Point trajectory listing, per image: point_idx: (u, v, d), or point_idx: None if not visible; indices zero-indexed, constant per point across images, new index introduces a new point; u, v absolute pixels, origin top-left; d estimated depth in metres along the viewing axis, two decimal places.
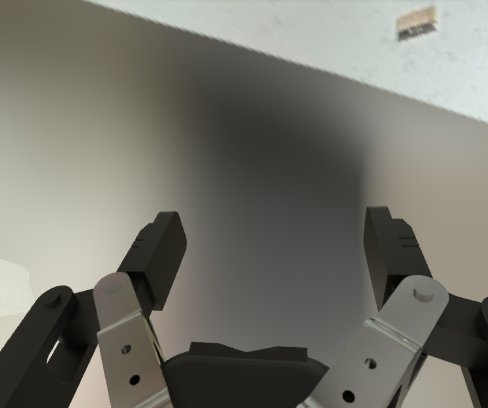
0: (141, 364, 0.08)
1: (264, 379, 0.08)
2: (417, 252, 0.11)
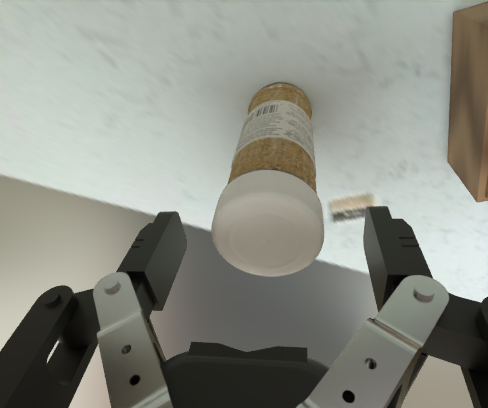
0: (141, 364, 0.08)
1: (264, 379, 0.08)
2: (417, 252, 0.11)
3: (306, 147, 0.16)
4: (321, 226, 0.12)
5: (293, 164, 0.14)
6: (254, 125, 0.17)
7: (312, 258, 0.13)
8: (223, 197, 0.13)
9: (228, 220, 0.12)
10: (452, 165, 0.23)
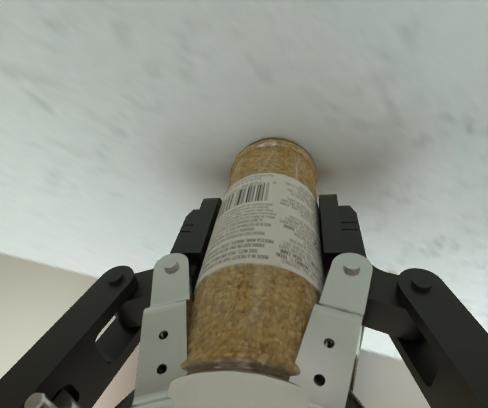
0: (171, 355, 0.08)
1: None
2: (357, 234, 0.12)
3: (312, 274, 0.10)
4: None
5: (290, 337, 0.08)
6: (231, 225, 0.11)
7: None
8: None
9: None
10: None
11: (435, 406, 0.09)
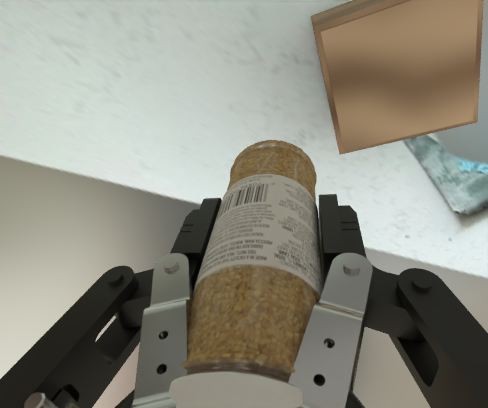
0: (172, 355, 0.08)
1: None
2: (357, 234, 0.12)
3: (311, 275, 0.10)
4: None
5: (288, 337, 0.08)
6: (230, 227, 0.11)
7: None
8: None
9: None
10: None
11: (435, 406, 0.09)
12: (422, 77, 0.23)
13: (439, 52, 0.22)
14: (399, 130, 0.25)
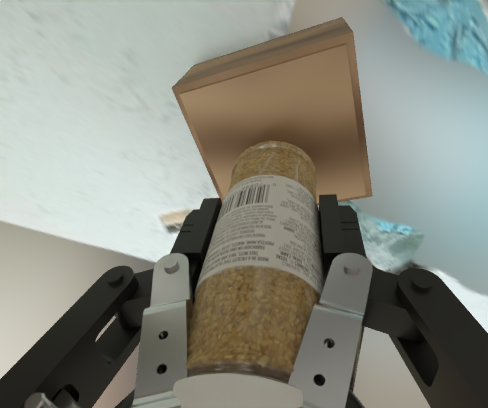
0: (171, 355, 0.08)
1: None
2: (357, 234, 0.12)
3: (312, 276, 0.10)
4: None
5: (291, 339, 0.08)
6: (232, 228, 0.11)
7: None
8: None
9: None
10: None
11: (435, 406, 0.09)
12: (302, 148, 0.20)
13: (316, 123, 0.19)
14: None
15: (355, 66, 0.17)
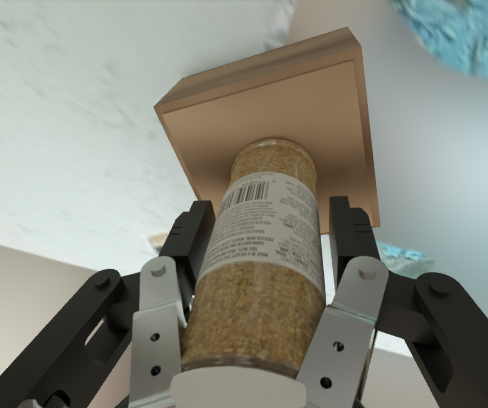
0: (165, 356, 0.08)
1: None
2: (370, 237, 0.12)
3: (312, 271, 0.10)
4: None
5: (290, 333, 0.08)
6: (231, 224, 0.11)
7: None
8: None
9: None
10: None
11: None
12: None
13: (318, 148, 0.16)
14: None
15: (363, 85, 0.14)
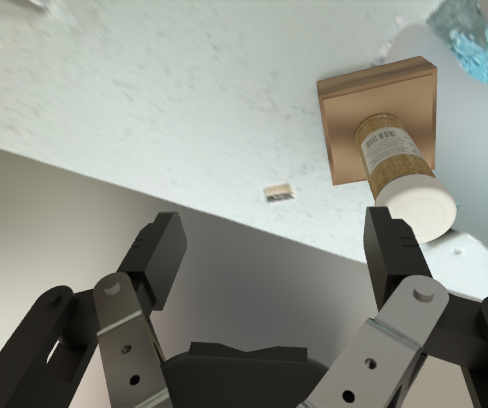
0: (141, 364, 0.08)
1: (264, 379, 0.08)
2: (417, 252, 0.11)
3: None
4: (456, 209, 0.20)
5: (428, 171, 0.22)
6: (384, 145, 0.25)
7: (445, 231, 0.21)
8: (391, 190, 0.21)
9: (398, 204, 0.20)
10: None
11: None
12: None
13: (407, 120, 0.30)
14: None
15: (435, 86, 0.29)
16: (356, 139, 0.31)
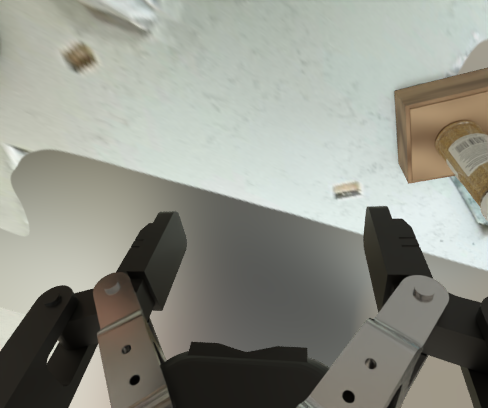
0: (141, 364, 0.08)
1: (264, 379, 0.08)
2: (417, 252, 0.11)
3: None
4: None
5: None
6: (479, 150, 0.29)
7: None
8: None
9: None
10: (400, 165, 0.43)
11: None
12: None
13: (484, 125, 0.34)
14: None
15: None
16: (438, 143, 0.35)
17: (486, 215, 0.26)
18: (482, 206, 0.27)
